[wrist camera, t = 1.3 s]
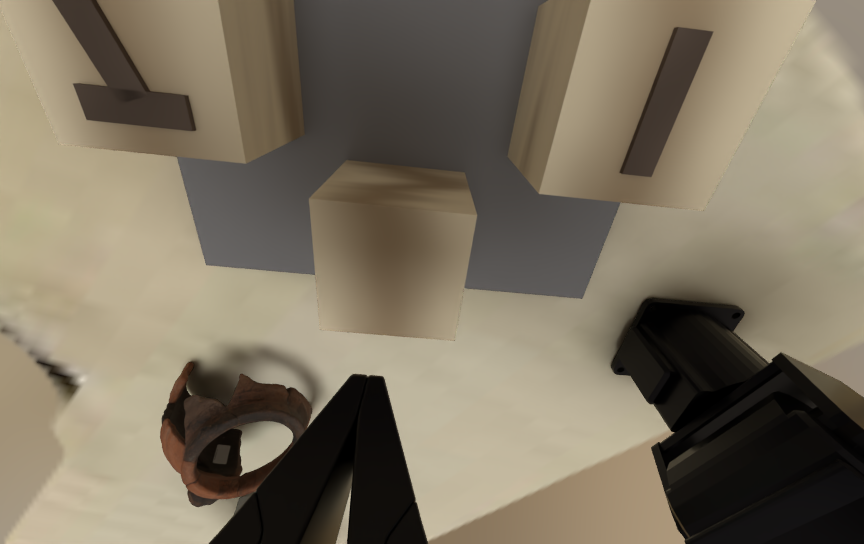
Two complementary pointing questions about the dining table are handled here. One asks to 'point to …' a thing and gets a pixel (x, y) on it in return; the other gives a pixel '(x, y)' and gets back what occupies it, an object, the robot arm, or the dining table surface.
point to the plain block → (392, 249)
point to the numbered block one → (646, 94)
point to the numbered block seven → (164, 74)
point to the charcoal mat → (405, 142)
